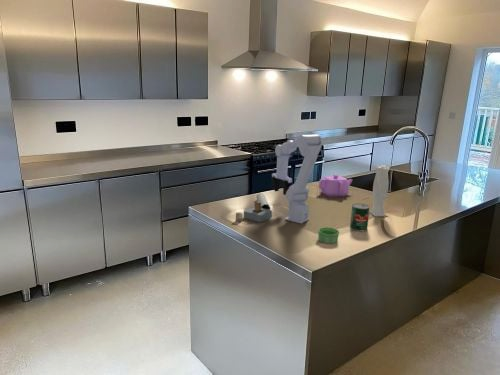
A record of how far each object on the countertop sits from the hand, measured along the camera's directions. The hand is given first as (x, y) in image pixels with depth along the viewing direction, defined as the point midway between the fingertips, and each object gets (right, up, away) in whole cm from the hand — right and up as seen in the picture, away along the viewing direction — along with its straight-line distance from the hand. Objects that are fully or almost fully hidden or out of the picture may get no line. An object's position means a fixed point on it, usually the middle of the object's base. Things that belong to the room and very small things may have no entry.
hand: (280, 192), depth 197 cm
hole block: (-13, -12, -11) cm, 20 cm away
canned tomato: (+35, -17, -21) cm, 44 cm away
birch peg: (-22, -13, -16) cm, 30 cm away
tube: (-10, -8, +8) cm, 15 cm away
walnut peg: (-13, -12, -11) cm, 20 cm away
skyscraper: (+51, -12, -2) cm, 52 cm away
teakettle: (+37, -1, +36) cm, 52 cm away
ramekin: (+17, -20, -36) cm, 45 cm away
